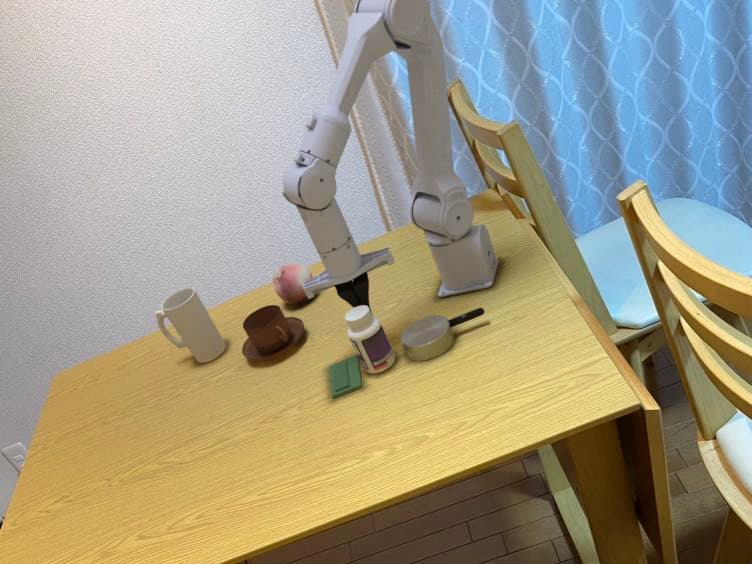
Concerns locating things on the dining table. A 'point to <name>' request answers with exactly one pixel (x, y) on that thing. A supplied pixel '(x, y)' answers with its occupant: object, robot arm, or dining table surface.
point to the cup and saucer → (270, 333)
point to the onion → (291, 283)
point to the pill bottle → (369, 340)
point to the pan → (433, 335)
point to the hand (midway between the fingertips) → (368, 317)
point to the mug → (191, 325)
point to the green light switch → (345, 377)
